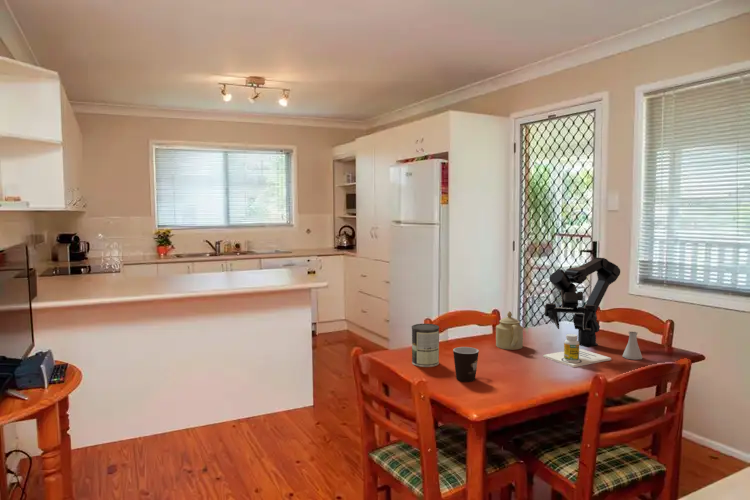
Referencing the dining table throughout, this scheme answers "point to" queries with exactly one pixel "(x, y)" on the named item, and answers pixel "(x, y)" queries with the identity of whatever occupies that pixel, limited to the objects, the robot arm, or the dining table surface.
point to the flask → (632, 348)
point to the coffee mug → (465, 363)
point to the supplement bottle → (571, 348)
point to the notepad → (584, 358)
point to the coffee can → (425, 345)
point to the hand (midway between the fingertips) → (571, 329)
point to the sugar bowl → (509, 333)
